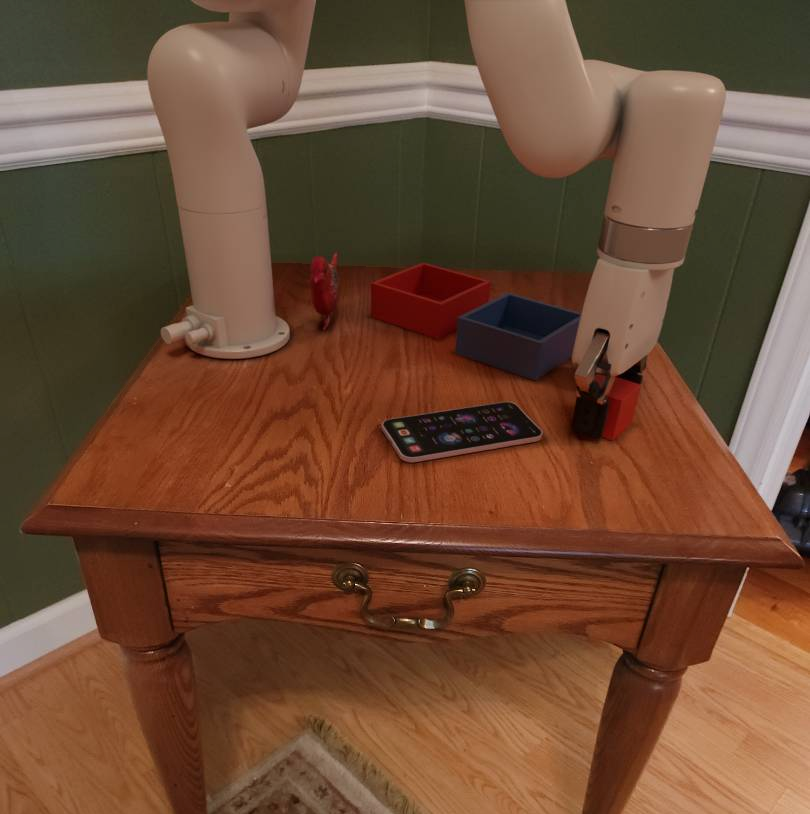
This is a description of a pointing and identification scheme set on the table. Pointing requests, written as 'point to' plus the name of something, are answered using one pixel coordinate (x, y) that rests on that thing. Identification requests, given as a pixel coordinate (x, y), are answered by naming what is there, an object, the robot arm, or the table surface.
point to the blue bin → (518, 335)
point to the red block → (619, 405)
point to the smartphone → (460, 431)
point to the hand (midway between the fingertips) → (603, 418)
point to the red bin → (427, 298)
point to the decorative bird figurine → (324, 286)
